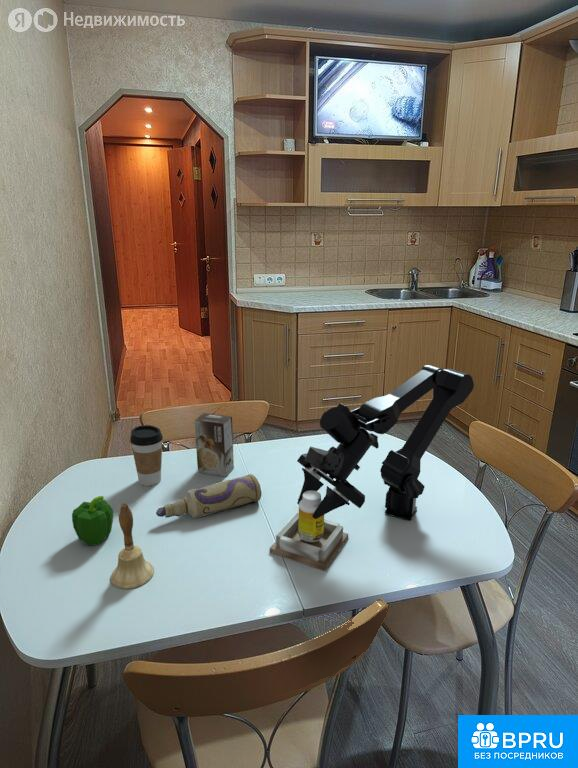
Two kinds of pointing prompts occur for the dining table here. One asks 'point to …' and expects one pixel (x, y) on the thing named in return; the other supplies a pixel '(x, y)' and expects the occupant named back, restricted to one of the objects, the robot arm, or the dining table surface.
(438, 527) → the dining table surface
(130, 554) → the hand bell
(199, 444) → the coffee box
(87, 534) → the bell pepper
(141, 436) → the coffee cup
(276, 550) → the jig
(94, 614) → the dining table surface
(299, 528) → the supplement bottle
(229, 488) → the decorative bottle
